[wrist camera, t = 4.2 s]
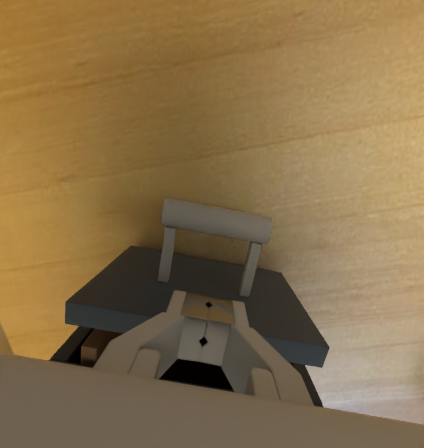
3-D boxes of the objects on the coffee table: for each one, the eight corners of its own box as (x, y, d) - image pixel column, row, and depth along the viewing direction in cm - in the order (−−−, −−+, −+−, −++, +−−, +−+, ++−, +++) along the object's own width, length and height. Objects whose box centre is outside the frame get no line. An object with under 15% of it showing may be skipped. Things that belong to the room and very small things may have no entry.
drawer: (137, 183, 16) (68, 192, 9) (298, 213, 17) (367, 247, 9) (117, 378, 20) (59, 498, 13) (245, 399, 21) (262, 529, 13)
